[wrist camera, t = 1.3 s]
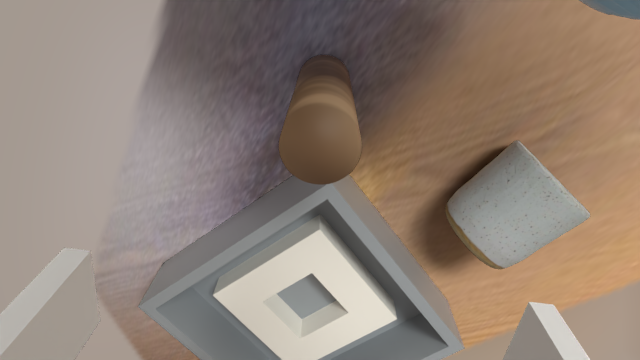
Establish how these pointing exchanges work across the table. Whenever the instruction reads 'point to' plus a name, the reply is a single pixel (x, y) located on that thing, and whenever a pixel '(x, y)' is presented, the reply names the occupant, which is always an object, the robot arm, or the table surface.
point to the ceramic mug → (512, 209)
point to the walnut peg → (321, 124)
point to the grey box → (303, 284)
